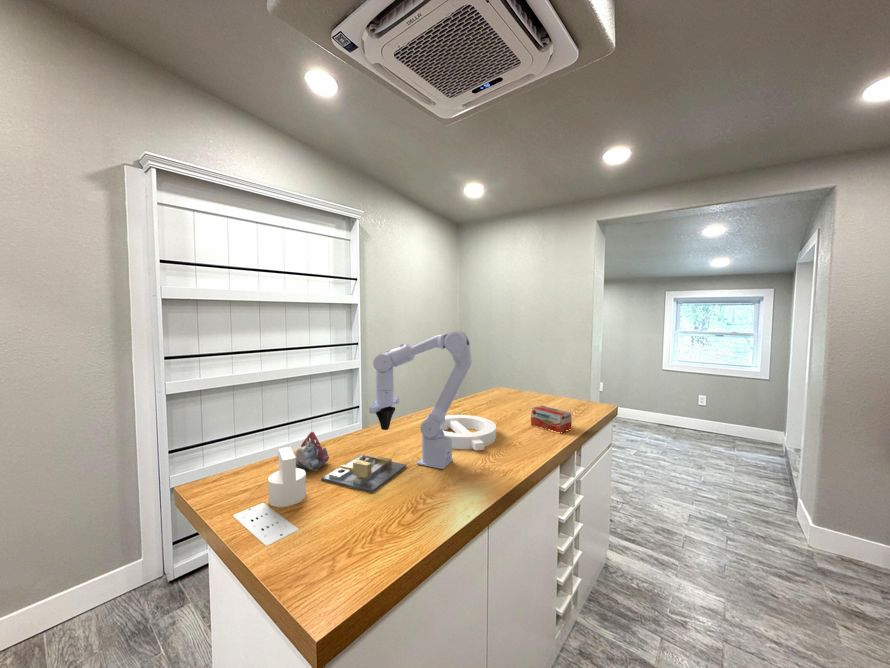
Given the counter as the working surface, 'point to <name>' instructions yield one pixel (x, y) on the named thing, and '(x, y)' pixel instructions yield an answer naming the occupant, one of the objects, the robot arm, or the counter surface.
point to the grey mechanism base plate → (380, 475)
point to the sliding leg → (360, 468)
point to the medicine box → (551, 418)
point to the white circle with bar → (464, 436)
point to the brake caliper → (311, 454)
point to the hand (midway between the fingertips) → (385, 429)
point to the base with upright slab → (287, 481)
